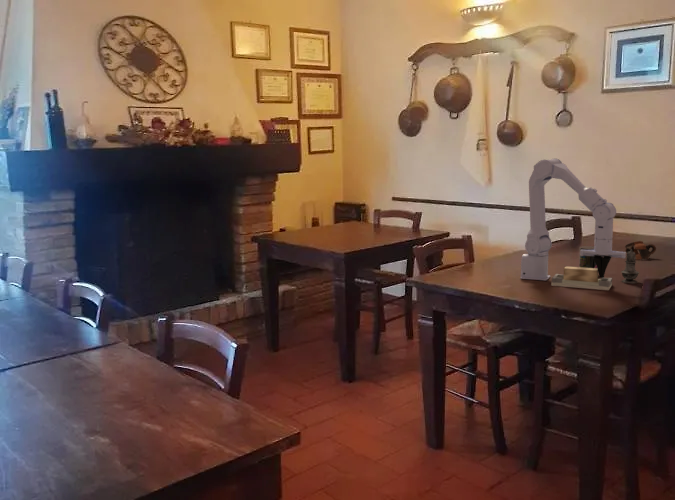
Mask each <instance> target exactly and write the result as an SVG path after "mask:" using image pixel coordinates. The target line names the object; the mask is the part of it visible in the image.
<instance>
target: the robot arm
mask: <svg viewBox="0 0 675 500" xmlns="http://www.w3.org/2000/svg"><path fill="white" fill-rule="evenodd" d="M551 179H556V180H557V179H558V180H562V181H563V182H564V183H565V184H566V185H567V186H568V187H570V188H571V189H572V190H573V191H574V192H576V193H577V194H578V200H579V201H580V202H581V203H582V204H583V205H584V206H585V207H586V208H587V209H588V210H589V211H590V212H591V213H592V217H593V219H594V220H595V224H594V239H593V240H594V241H593V245H594V246H593V247H594V250H582V249H581V250H580V249H579V257H580V256H594V261H595V263H596V266H597V268H598V279H601V278H605V274H606V270H607V268H608V265H609V263H610V261H611V260H612V258H615V259H617V258H621V259H626V257H627V253H626V252H625V251H617V250H613V237H614V235H613V233H614V218H615V217H616V214H617V209H616V206H615V205H614V203H612V202H608V200H607V199H606V198H603V197H602V196H601V195H600V194H599V193H598V190H597V188H592V187H589V186H588V187H586V186H585V184H583V183H582V181H581V180H580V179H579V178H578V177H577V176H576V175H575V174H574V173H573V172H572V171H571V170H570V168H568V166H567V165H566V164H565V163H563V161H562V160H561V159H560V158H559V159H558V158H550V159H547V158H546V159H544V158H543V159H541V160H538V161H537V162H536V163H535V164H534V165H533V170H532V173H531V174H530V177H529V179H528V197H529V221H530V222H529V223H530V225H529V226H530V229H529V231H528V232H527V235H526V241H525V242H524V243H525V244H524V249H525V250H526V252H527V253H523V254H522V256H521V259H520V260H521V261H520V279H521V280H522V279H523V280H535V281H548V279H550V278H551V275H550V274H549V251H550V250H551V248H552V245H553V242H552V239H551V237H550V231H548V229H547V226H546V222H547V221H546V200H545V198H546V197H545V195H546V194H545V186H546V184H547V183H548V182H549V181H550V180H551ZM597 254H598V255H597Z"/></svg>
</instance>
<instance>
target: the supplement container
mask: <svg viewBox="0 0 675 500" xmlns="http://www.w3.org/2000/svg"><path fill="white" fill-rule="evenodd" d="M581 249H582V250H594V246H591V245H585V246H584V245H583V246H579V251H580V250H581ZM597 255H598V254H597ZM578 267H582V268H597V266H596V263H595V261H594V256H580V255H579V265H578ZM597 269H598V268H597Z"/></svg>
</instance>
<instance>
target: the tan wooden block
mask: <svg viewBox="0 0 675 500" xmlns="http://www.w3.org/2000/svg"><path fill="white" fill-rule="evenodd" d="M563 275H564V279H563V280H573V281H586V282H598V279H599V272H598V269H597V268H582V267H579V266H564V268H563Z"/></svg>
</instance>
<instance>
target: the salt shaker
mask: <svg viewBox="0 0 675 500" xmlns="http://www.w3.org/2000/svg"><path fill="white" fill-rule="evenodd" d="M624 262H625V268H624V269H623V270H622V271H621V272H620V273H621V275H622V276H621V277H623V279H622V280H621V283H624V284H638V283H639V282H638V281H637V280H636V278H638V276H639V274H640V272H639V271H637V270H636V263H637V260H636V257H635V252H633V251H632V249H631V251H629V252H627V253H626V258H625V261H624Z"/></svg>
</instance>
